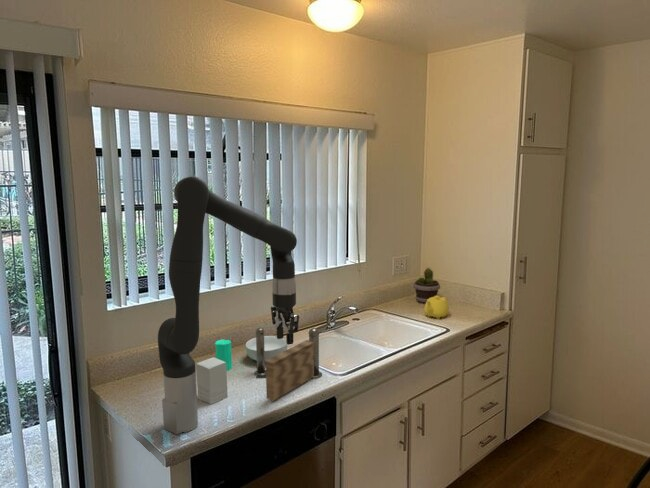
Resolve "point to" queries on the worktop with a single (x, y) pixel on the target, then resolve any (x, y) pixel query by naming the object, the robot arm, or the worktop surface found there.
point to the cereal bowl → (267, 347)
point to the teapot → (436, 307)
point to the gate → (289, 369)
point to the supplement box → (212, 380)
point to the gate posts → (261, 352)
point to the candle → (224, 352)
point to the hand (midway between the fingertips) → (285, 341)
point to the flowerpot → (426, 287)
